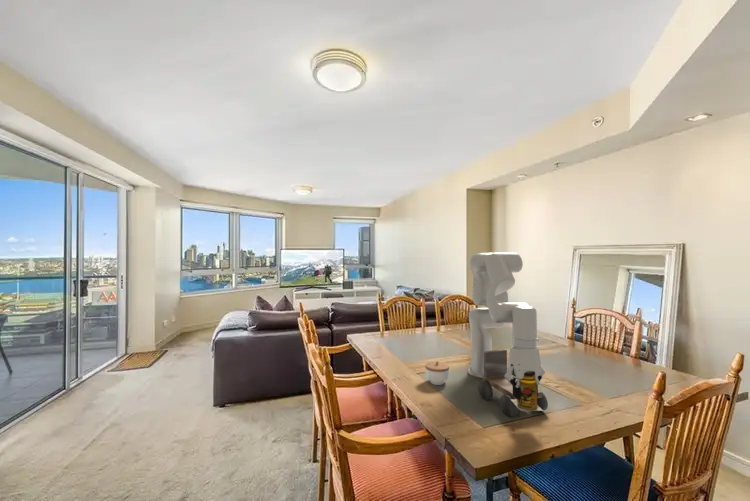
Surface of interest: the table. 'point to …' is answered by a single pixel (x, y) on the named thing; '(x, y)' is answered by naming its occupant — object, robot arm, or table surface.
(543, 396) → the trolley
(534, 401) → the condiment
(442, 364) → the lidded jar
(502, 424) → the table surface
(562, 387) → the table surface
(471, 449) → the table surface
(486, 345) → the robot arm
